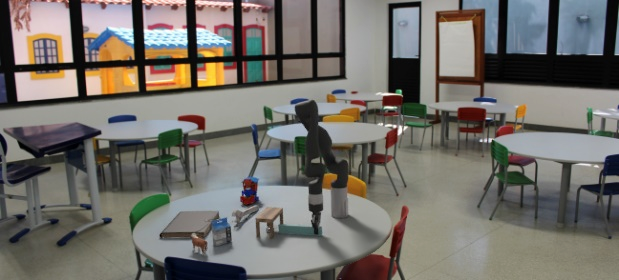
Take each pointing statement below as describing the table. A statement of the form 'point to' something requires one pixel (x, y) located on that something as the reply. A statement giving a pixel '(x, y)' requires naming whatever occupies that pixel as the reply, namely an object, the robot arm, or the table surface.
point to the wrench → (243, 213)
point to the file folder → (190, 224)
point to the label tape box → (221, 232)
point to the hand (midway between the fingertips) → (316, 233)
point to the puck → (268, 230)
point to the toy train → (249, 190)
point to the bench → (268, 219)
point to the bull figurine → (199, 243)
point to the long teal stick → (298, 229)
